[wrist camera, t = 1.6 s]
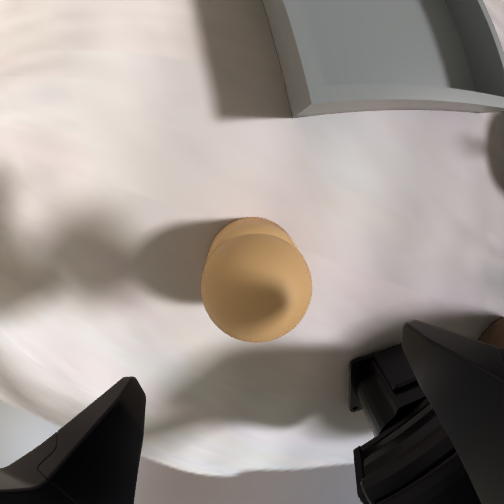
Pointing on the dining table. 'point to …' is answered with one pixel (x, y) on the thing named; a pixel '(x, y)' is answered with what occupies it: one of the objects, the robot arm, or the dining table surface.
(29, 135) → the dining table surface
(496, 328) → the plant pot
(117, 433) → the robot arm
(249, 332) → the tan oval piece
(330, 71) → the bin
